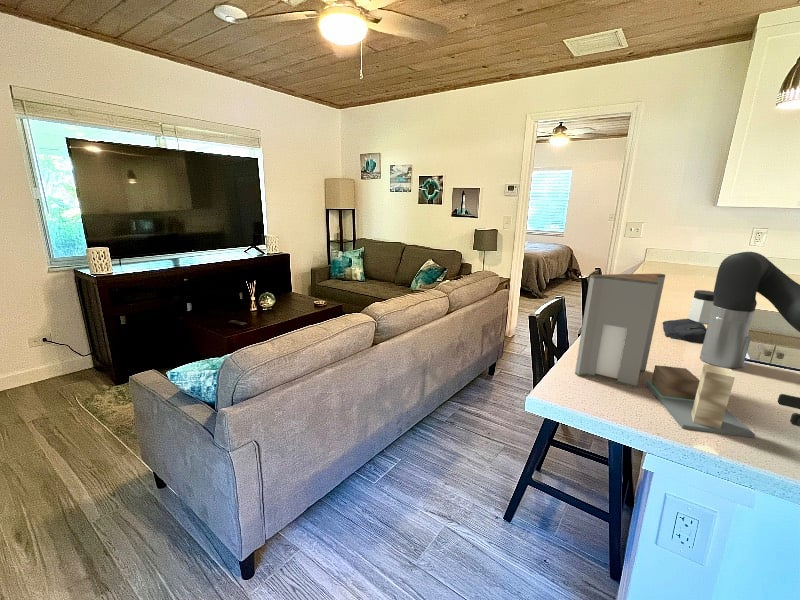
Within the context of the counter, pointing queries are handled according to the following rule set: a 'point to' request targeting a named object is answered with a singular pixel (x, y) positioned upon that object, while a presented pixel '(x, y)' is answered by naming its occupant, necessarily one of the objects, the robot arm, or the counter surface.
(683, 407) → the mat
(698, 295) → the jar
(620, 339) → the cabinet
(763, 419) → the counter surface
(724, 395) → the pillar
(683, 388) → the base block
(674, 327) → the dark slate chunk
